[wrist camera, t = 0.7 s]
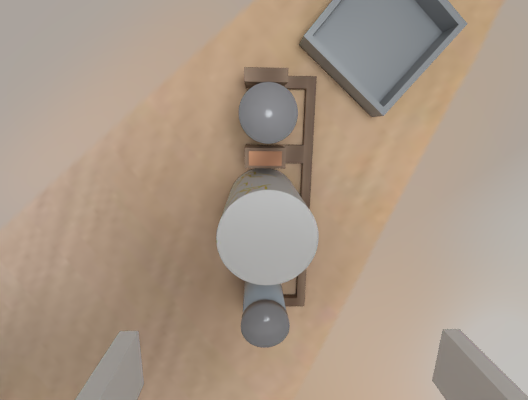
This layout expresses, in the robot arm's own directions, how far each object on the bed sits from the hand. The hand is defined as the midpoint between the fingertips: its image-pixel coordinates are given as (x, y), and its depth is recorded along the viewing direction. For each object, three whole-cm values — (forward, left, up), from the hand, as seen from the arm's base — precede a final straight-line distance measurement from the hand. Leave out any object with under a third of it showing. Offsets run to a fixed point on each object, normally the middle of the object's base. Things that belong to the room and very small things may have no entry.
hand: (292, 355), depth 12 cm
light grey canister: (-1, +1, -23) cm, 23 cm away
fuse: (-1, -9, -23) cm, 25 cm away
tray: (+11, +19, -23) cm, 32 cm away
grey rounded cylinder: (-1, +11, -23) cm, 25 cm away
